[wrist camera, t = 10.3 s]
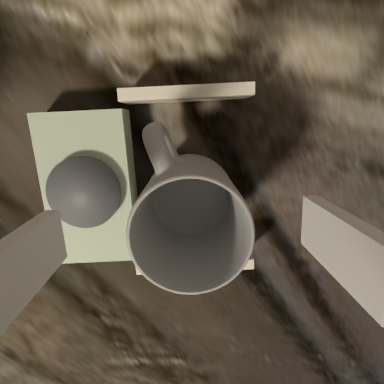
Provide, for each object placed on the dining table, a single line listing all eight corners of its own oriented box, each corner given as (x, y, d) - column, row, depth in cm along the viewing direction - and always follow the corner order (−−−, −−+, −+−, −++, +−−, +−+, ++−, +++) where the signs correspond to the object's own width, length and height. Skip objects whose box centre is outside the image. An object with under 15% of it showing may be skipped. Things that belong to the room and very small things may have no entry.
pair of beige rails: (69, 258, 30) (51, 278, 26) (41, 97, 26) (16, 93, 22) (245, 250, 30) (253, 269, 26) (245, 87, 26) (255, 81, 22)
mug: (243, 216, 29) (275, 270, 18) (168, 245, 30) (157, 314, 19) (200, 105, 26) (207, 93, 16) (118, 140, 27) (73, 152, 16)
